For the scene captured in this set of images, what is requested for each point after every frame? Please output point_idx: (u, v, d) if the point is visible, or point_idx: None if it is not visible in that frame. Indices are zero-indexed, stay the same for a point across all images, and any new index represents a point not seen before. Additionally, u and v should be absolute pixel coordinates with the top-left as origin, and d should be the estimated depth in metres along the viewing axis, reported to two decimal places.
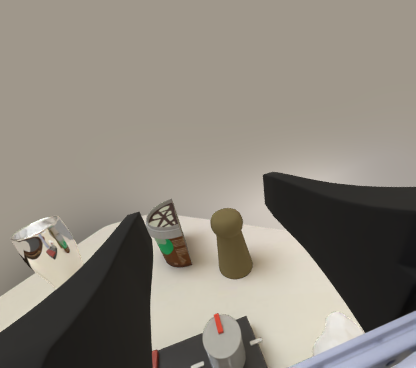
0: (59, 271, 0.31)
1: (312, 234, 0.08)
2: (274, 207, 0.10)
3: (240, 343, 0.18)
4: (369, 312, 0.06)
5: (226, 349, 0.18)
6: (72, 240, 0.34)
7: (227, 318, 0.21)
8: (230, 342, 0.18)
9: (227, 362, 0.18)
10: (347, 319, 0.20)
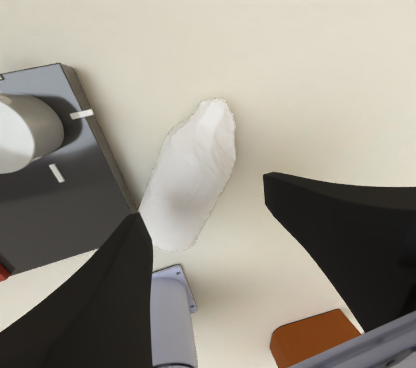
0: None
1: (312, 234, 0.08)
2: (274, 207, 0.10)
3: (37, 151, 0.10)
4: (369, 312, 0.06)
5: (6, 162, 0.10)
6: None
7: None
8: (12, 151, 0.10)
9: None
10: (227, 115, 0.13)
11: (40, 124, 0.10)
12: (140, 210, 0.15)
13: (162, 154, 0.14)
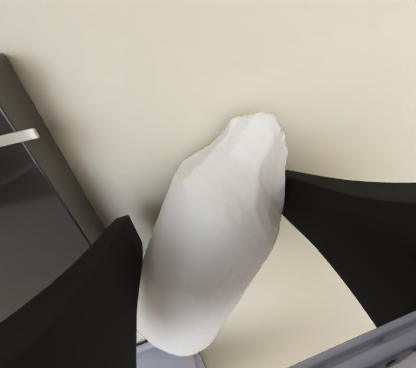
0: None
1: (322, 230, 0.08)
2: None
3: None
4: (382, 307, 0.06)
5: None
6: None
7: None
8: None
9: None
10: (278, 140, 0.08)
11: None
12: None
13: (169, 210, 0.08)
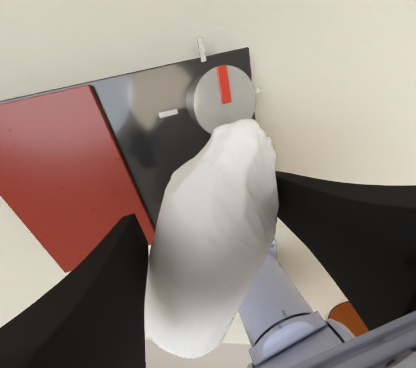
0: None
1: (315, 233, 0.08)
2: None
3: (250, 118, 0.12)
4: (373, 310, 0.06)
5: None
6: None
7: (239, 76, 0.11)
8: (238, 117, 0.12)
9: None
10: (263, 146, 0.08)
11: None
12: None
13: (163, 223, 0.08)
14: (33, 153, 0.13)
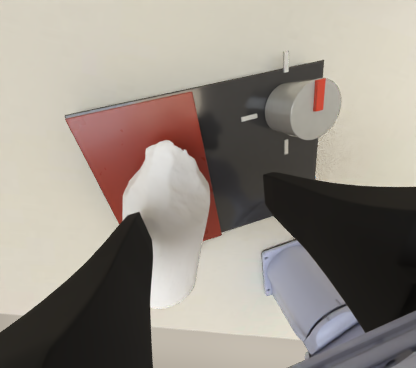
0: None
1: (312, 234, 0.08)
2: (274, 207, 0.10)
3: None
4: (369, 312, 0.06)
5: (316, 131, 0.14)
6: None
7: (331, 88, 0.13)
8: (323, 123, 0.13)
9: None
10: (178, 157, 0.11)
11: None
12: None
13: (123, 217, 0.12)
14: (135, 151, 0.14)
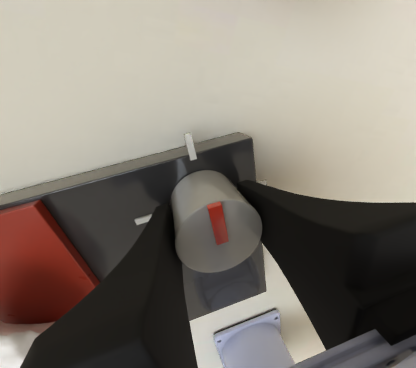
0: None
1: (279, 246, 0.08)
2: None
3: None
4: (327, 330, 0.06)
5: (228, 260, 0.09)
6: None
7: (240, 209, 0.08)
8: (238, 250, 0.09)
9: None
10: None
11: None
12: None
13: None
14: None
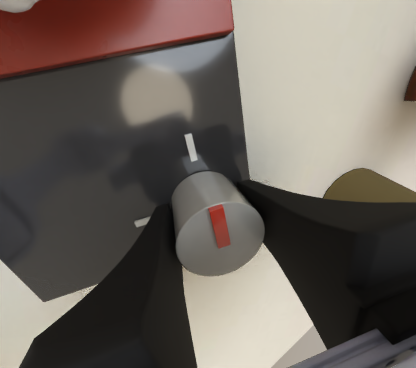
0: None
1: (280, 245, 0.08)
2: None
3: None
4: (328, 329, 0.06)
5: (230, 264, 0.09)
6: None
7: (242, 212, 0.08)
8: (239, 253, 0.09)
9: None
10: None
11: None
12: None
13: None
14: None
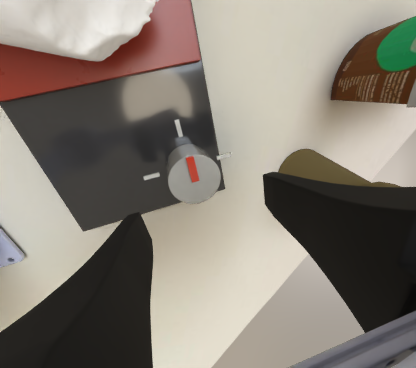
0: None
1: (312, 234, 0.08)
2: (274, 207, 0.10)
3: None
4: (369, 312, 0.06)
5: (200, 196, 0.15)
6: None
7: (205, 161, 0.14)
8: (206, 189, 0.15)
9: None
10: (141, 4, 0.09)
11: None
12: None
13: None
14: None
